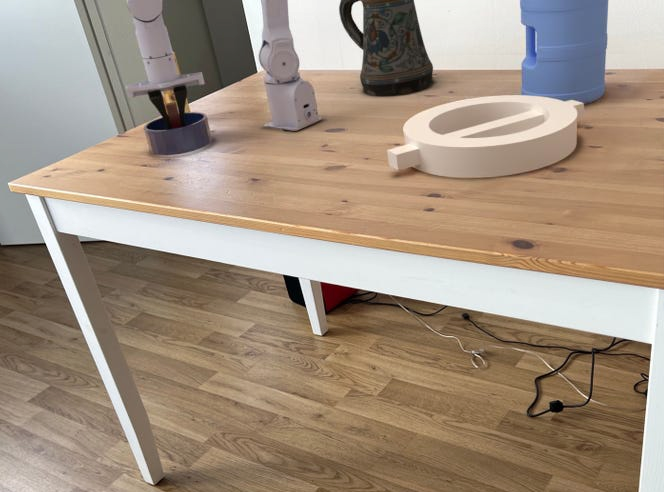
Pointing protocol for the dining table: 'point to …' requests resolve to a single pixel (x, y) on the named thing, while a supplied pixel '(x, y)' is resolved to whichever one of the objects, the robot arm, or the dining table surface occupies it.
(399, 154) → the white circle with bar
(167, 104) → the dark red rectangular block
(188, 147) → the blue round bowl
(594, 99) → the water jug
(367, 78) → the beer stein
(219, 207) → the dining table surface
